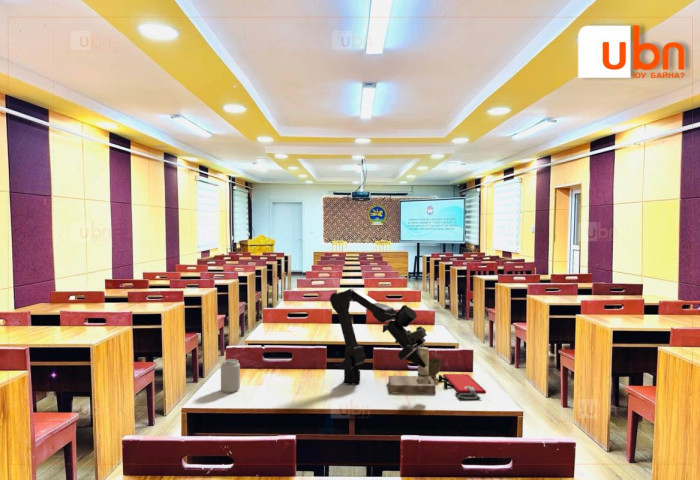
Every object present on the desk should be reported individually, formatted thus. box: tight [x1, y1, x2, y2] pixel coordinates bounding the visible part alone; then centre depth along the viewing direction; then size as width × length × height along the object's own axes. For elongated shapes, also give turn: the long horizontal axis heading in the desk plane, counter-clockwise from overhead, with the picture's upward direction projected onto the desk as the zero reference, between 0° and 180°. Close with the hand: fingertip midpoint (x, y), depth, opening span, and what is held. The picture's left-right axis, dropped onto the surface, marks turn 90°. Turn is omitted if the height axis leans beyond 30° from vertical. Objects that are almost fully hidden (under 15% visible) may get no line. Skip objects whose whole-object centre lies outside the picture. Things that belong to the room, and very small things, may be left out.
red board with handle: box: [438, 373, 487, 400], centre depth 185 cm, size 30×3×15 cm
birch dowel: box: [417, 346, 430, 384], centre depth 170 cm, size 4×4×13 cm
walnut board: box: [388, 375, 436, 394], centre depth 184 cm, size 18×12×3 cm, turn 89°
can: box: [220, 358, 241, 394], centre depth 179 cm, size 8×8×12 cm
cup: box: [429, 357, 442, 379], centre depth 197 cm, size 8×7×8 cm
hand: (426, 365), depth 170 cm, fingers closed on birch dowel, 4 cm apart
